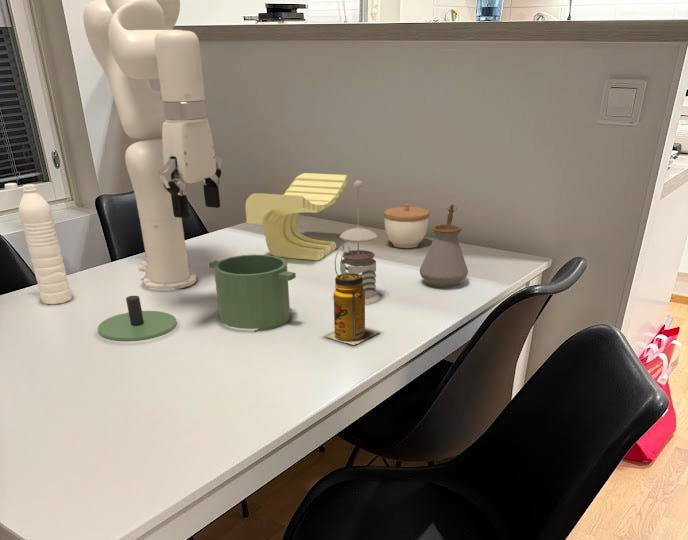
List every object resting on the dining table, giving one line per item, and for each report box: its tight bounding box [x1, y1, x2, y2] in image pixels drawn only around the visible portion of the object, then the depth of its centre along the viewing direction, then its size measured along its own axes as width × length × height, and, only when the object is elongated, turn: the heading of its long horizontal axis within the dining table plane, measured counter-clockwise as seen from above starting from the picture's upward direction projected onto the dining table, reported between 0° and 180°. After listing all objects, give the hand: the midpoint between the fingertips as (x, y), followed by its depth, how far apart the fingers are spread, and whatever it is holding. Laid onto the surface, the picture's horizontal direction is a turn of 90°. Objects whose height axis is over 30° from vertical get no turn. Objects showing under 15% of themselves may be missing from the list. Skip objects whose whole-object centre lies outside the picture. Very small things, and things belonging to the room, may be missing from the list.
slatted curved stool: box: [245, 172, 348, 261], centre depth 183 cm, size 30×16×18 cm, turn 159°
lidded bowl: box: [383, 203, 431, 249], centre depth 189 cm, size 13×13×11 cm
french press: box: [334, 179, 381, 305], centre depth 147 cm, size 10×12×25 cm
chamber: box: [208, 254, 297, 332], centre depth 141 cm, size 15×20×12 cm
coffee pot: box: [419, 204, 469, 289], centre depth 162 cm, size 21×12×15 cm, turn 168°
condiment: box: [325, 272, 380, 346], centre depth 132 cm, size 7×8×12 cm
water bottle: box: [4, 182, 73, 305], centre depth 149 cm, size 9×6×25 cm
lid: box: [97, 295, 178, 342], centre depth 137 cm, size 16×16×7 cm
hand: (197, 212), depth 130 cm, fingers open, 9 cm apart
